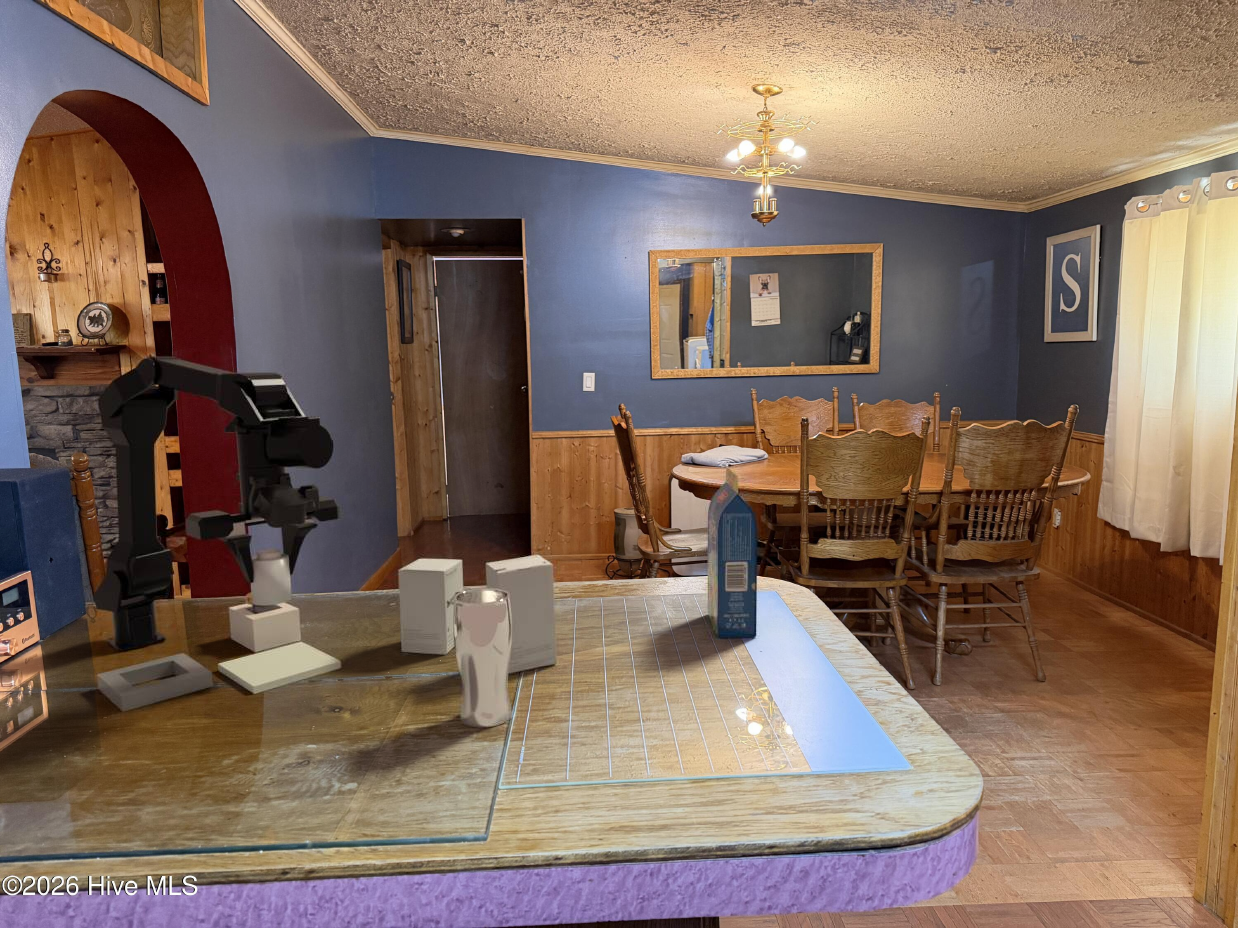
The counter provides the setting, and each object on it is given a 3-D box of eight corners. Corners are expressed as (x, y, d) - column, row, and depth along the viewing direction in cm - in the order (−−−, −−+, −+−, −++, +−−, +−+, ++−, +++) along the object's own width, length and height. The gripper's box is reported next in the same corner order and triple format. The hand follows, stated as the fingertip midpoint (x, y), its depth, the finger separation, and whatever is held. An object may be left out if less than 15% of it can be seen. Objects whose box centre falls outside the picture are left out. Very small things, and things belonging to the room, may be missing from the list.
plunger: (243, 628, 126) (240, 594, 125) (273, 621, 129) (271, 587, 129) (255, 635, 123) (253, 600, 122) (287, 627, 126) (284, 593, 125)
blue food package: (744, 613, 136) (745, 465, 133) (757, 637, 124) (758, 475, 121) (706, 614, 136) (706, 466, 133) (716, 638, 124) (716, 476, 121)
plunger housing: (231, 638, 127) (228, 607, 126) (275, 627, 132) (273, 597, 131) (255, 652, 120) (252, 619, 120) (301, 640, 126) (298, 608, 125)
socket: (98, 688, 108) (97, 674, 107) (184, 666, 115) (183, 652, 115) (122, 711, 100) (121, 696, 100) (212, 686, 108) (211, 671, 108)
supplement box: (447, 655, 118) (443, 571, 117) (400, 652, 120) (396, 569, 118) (466, 638, 125) (463, 558, 124) (422, 635, 127) (418, 556, 125)
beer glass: (460, 705, 101) (455, 588, 99) (516, 703, 101) (513, 586, 99) (453, 731, 94) (448, 605, 92) (514, 728, 94) (510, 603, 92)
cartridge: (246, 600, 112) (242, 552, 111) (282, 592, 116) (278, 545, 115) (261, 607, 109) (257, 557, 108) (297, 599, 112) (294, 551, 111)
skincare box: (543, 652, 119) (540, 553, 117) (558, 665, 114) (556, 562, 112) (487, 662, 115) (484, 560, 113) (500, 676, 110) (497, 569, 108)
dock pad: (218, 670, 113) (218, 663, 113) (301, 647, 122) (301, 641, 122) (254, 693, 105) (253, 686, 105) (340, 667, 114) (340, 660, 114)
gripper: (211, 478, 98) (222, 604, 99) (355, 463, 111) (362, 574, 113) (179, 471, 105) (189, 588, 107) (317, 457, 119) (324, 562, 120)
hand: (270, 578), depth 112 cm, fingers closed on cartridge, 5 cm apart
